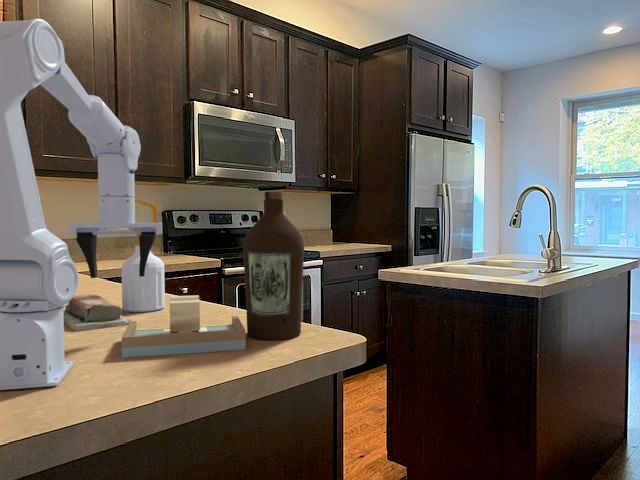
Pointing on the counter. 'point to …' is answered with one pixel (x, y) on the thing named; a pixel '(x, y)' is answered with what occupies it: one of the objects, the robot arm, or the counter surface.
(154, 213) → the soap bottle
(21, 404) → the counter surface
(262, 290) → the olive oil
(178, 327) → the beige block with rod
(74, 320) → the packaged product
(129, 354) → the dock
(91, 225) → the robot arm
